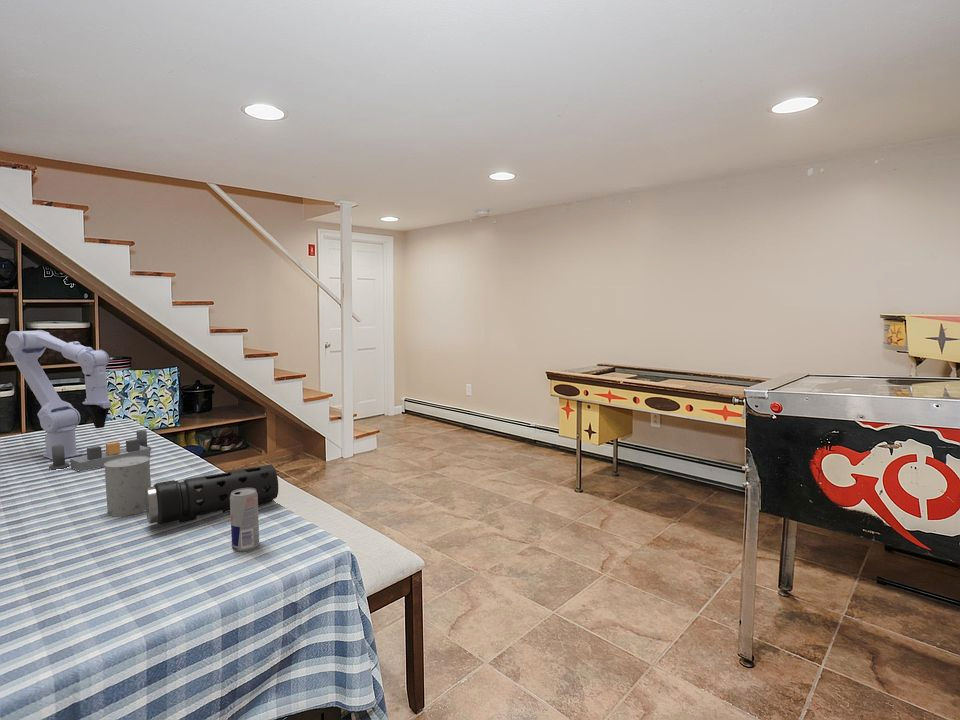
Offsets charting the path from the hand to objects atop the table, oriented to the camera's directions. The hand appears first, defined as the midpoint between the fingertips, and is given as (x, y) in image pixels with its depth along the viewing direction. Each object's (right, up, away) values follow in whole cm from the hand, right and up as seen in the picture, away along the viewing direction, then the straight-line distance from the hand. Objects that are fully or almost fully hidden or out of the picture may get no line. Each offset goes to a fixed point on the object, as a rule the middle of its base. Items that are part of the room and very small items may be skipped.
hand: (99, 427), depth 174 cm
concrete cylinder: (+38, -15, -42) cm, 59 cm away
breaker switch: (+8, -8, -5) cm, 12 cm away
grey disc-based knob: (-5, -12, -10) cm, 16 cm away
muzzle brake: (+61, -16, -45) cm, 78 cm away
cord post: (+8, -10, +10) cm, 16 cm away
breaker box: (+7, -11, -4) cm, 13 cm away
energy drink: (+76, -18, -62) cm, 100 cm away
